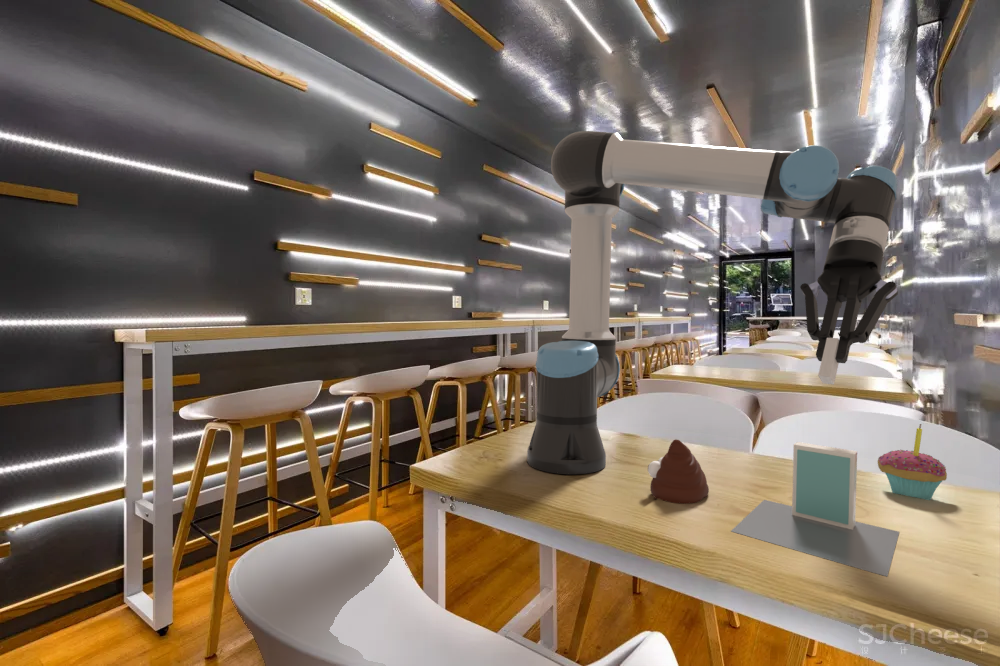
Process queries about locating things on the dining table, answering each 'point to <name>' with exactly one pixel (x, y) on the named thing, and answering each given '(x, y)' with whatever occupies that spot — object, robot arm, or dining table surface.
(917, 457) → the cupcake
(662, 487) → the poop emoji
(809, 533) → the slate board
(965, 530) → the dining table surface
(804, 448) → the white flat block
